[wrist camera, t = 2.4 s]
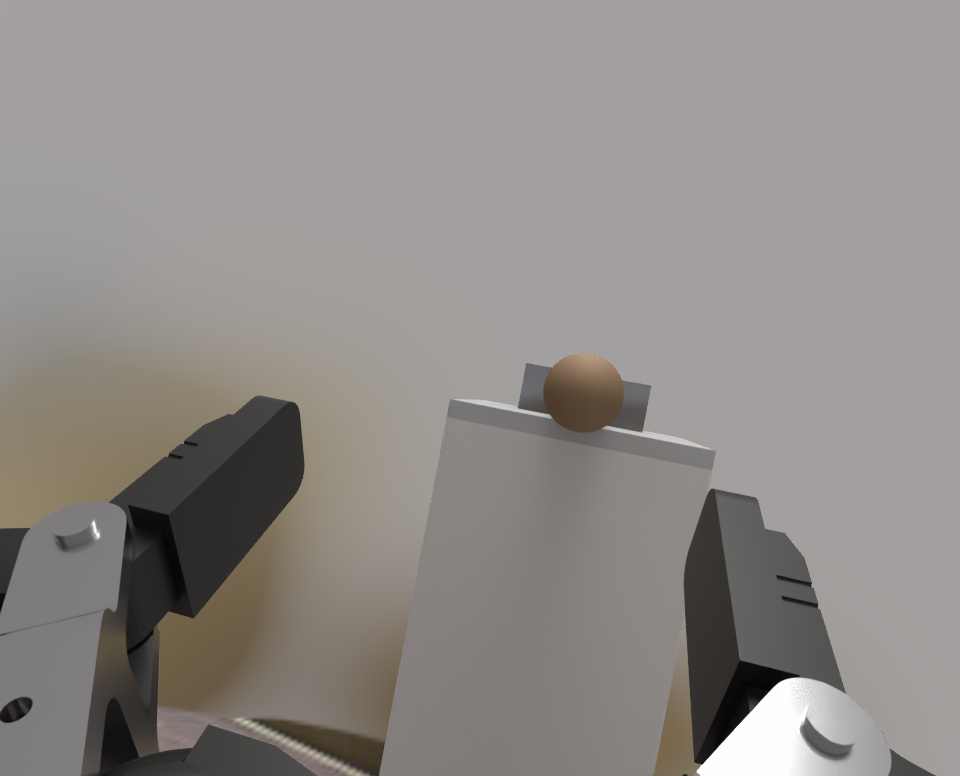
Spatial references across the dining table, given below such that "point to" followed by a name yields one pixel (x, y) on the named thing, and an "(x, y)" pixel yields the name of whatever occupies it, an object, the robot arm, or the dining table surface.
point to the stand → (545, 599)
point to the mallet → (584, 394)
